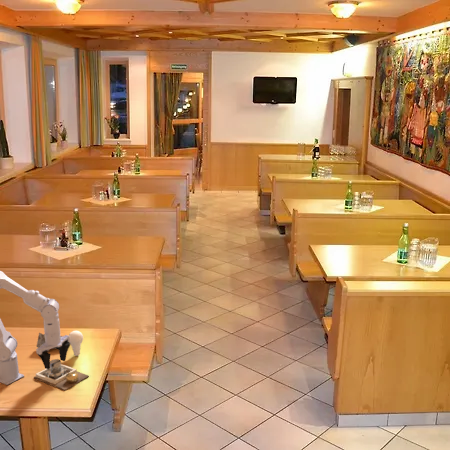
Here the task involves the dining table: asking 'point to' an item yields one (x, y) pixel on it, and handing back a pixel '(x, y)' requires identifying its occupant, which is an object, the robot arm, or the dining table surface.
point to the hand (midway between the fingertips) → (55, 364)
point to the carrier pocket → (40, 375)
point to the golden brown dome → (72, 377)
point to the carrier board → (64, 381)
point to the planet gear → (56, 369)
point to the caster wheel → (43, 341)
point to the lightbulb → (76, 341)
